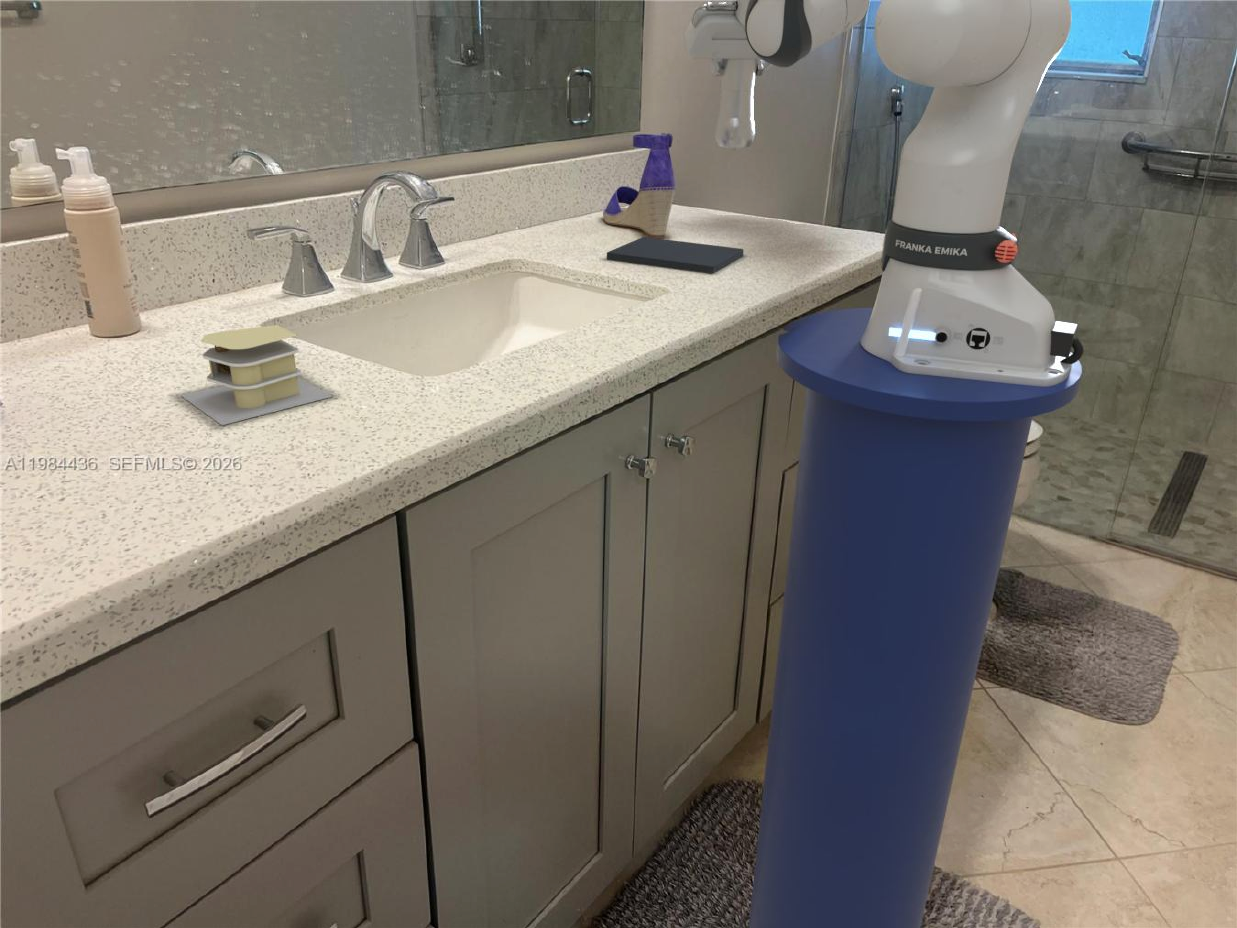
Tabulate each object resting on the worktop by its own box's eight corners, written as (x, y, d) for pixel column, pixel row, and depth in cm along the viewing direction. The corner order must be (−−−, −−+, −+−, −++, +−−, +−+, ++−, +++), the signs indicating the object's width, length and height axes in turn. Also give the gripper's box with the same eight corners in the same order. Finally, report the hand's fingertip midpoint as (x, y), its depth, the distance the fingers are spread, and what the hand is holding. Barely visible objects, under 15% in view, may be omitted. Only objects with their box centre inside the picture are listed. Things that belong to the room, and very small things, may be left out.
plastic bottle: (757, 147, 156) (766, 13, 148) (749, 152, 150) (757, 12, 142) (719, 146, 158) (725, 13, 150) (709, 150, 152) (715, 12, 144)
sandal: (642, 214, 163) (645, 122, 157) (679, 239, 146) (683, 137, 140) (596, 216, 162) (597, 123, 155) (628, 241, 144) (630, 137, 138)
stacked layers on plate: (287, 370, 91) (279, 315, 88) (332, 397, 85) (325, 337, 82) (180, 395, 84) (169, 336, 82) (222, 425, 79) (211, 362, 76)
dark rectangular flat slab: (743, 255, 137) (743, 249, 137) (712, 273, 127) (713, 266, 127) (643, 243, 143) (643, 236, 143) (606, 259, 134) (606, 252, 133)
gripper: (702, 19, 134) (678, 89, 147) (834, 20, 139) (800, 88, 151) (693, -15, 136) (670, 57, 149) (824, -13, 141) (791, 57, 153)
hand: (737, 73), depth 150 cm, fingers closed on plastic bottle, 6 cm apart
